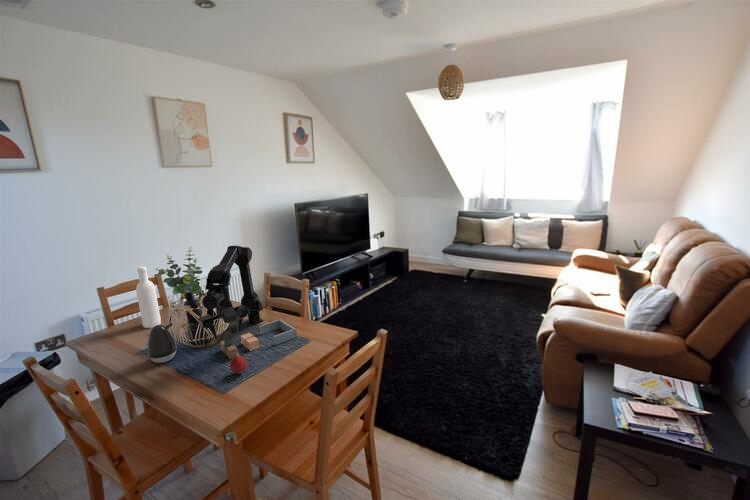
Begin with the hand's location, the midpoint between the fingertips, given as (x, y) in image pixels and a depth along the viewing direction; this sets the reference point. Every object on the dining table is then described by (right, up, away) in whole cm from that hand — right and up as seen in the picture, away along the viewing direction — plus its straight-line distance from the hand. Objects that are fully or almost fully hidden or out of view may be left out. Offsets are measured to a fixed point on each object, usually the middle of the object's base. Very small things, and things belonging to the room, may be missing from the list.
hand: (227, 334), depth 146 cm
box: (+16, -4, +16) cm, 23 cm away
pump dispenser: (-25, -10, -1) cm, 27 cm away
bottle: (-51, -3, +31) cm, 60 cm away
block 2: (+9, -7, +6) cm, 13 cm away
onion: (+10, -12, -13) cm, 20 cm away
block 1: (+5, -6, +10) cm, 13 cm away
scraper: (0, -8, +2) cm, 9 cm away
